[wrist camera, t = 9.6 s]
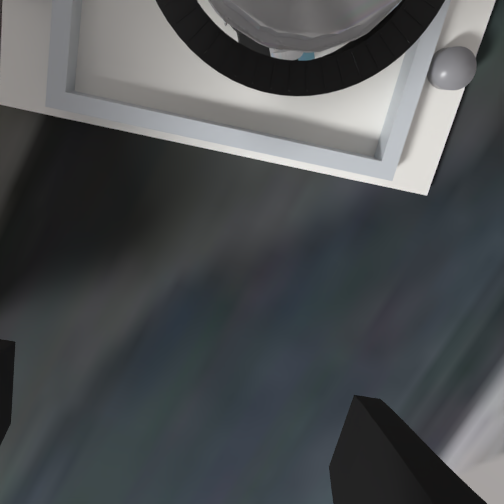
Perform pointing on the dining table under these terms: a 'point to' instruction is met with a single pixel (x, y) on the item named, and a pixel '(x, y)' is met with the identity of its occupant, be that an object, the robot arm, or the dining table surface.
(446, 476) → the robot arm
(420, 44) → the tray
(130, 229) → the dining table surface
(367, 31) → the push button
